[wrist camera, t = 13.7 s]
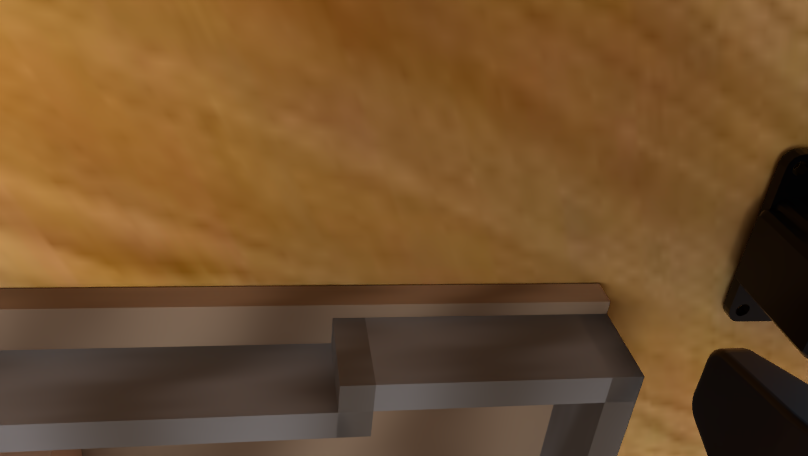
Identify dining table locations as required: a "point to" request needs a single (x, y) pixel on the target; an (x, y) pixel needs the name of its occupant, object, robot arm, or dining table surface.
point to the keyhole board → (315, 371)
